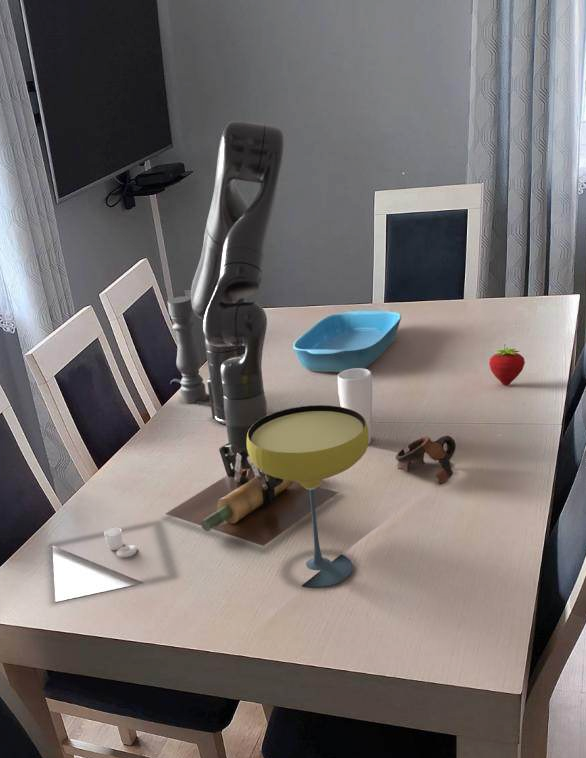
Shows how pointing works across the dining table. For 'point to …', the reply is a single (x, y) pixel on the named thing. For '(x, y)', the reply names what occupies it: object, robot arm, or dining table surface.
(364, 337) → the casserole dish
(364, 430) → the cocktail glass
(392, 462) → the dining table surface
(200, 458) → the dining table surface
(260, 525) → the pastry board
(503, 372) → the strawberry
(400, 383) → the dining table surface
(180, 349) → the candle holder
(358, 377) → the drinking glass
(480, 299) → the dining table surface
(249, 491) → the rolling pin
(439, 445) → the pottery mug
